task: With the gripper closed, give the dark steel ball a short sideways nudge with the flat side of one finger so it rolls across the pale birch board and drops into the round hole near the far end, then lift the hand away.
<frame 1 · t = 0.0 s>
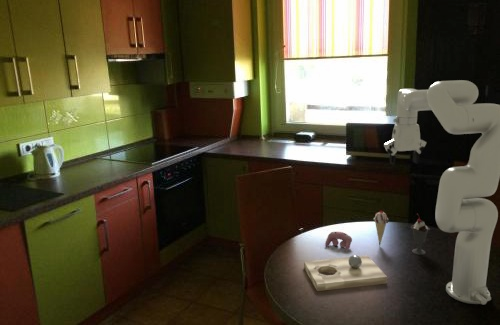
hand: (404, 163, 175), 31 cm above the table, tool pointing down, fingers open, 9 cm apart
sundae: (418, 252, 168), on the table
steel ball: (355, 261, 152), point 5 cm above the table, touching hole board
hole board: (343, 275, 153), on the table
video game controller: (338, 247, 175), on the table
ice cream cone: (379, 246, 174), on the table
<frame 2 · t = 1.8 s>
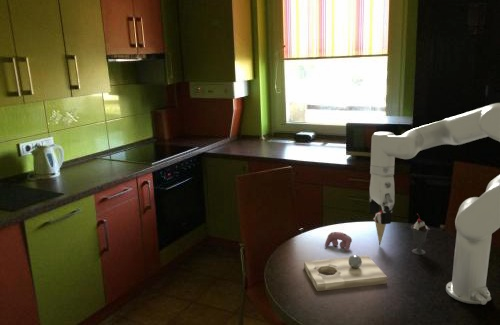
hand: (379, 218, 149), 21 cm above the table, tool pointing down, fingers open, 9 cm apart
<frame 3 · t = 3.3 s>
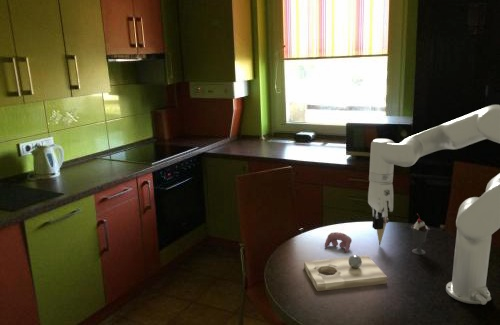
hand: (377, 228, 149), 17 cm above the table, tool pointing down, fingers closed
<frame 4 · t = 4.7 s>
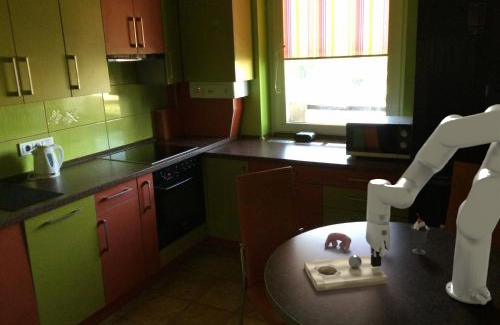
hand: (375, 265, 152), 3 cm above the table, tool pointing down, fingers closed
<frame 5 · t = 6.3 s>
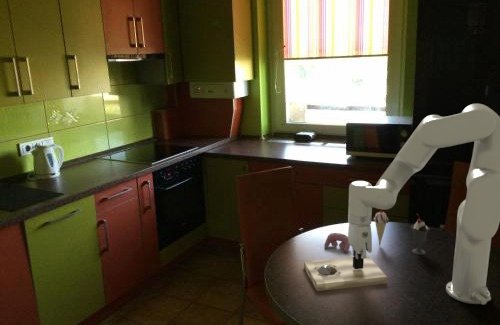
hand: (358, 267, 151), 3 cm above the table, tool pointing down, fingers closed
steel ball: (324, 272, 151), point 2 cm above the table, tilted 64°
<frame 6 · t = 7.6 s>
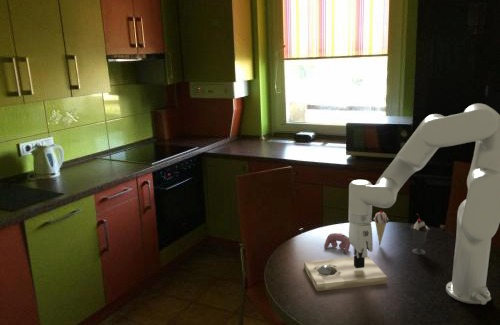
hand: (359, 266, 151), 4 cm above the table, tool pointing down, fingers closed
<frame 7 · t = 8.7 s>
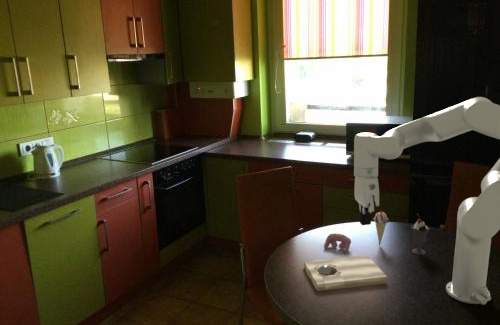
hand: (365, 223, 147), 20 cm above the table, tool pointing down, fingers closed
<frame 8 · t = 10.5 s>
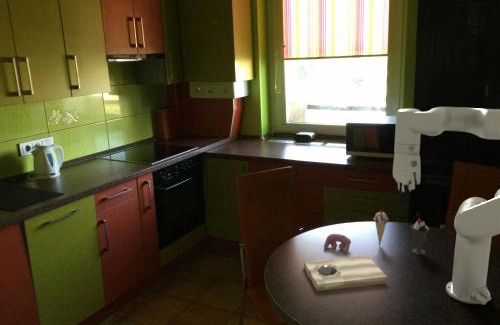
hand: (403, 202, 144), 27 cm above the table, tool pointing down, fingers closed
at the end: steel ball 0.7 cm from the target spot on the hole board, point 2.2 cm above the hole board's base; the gripper is holding nothing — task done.
